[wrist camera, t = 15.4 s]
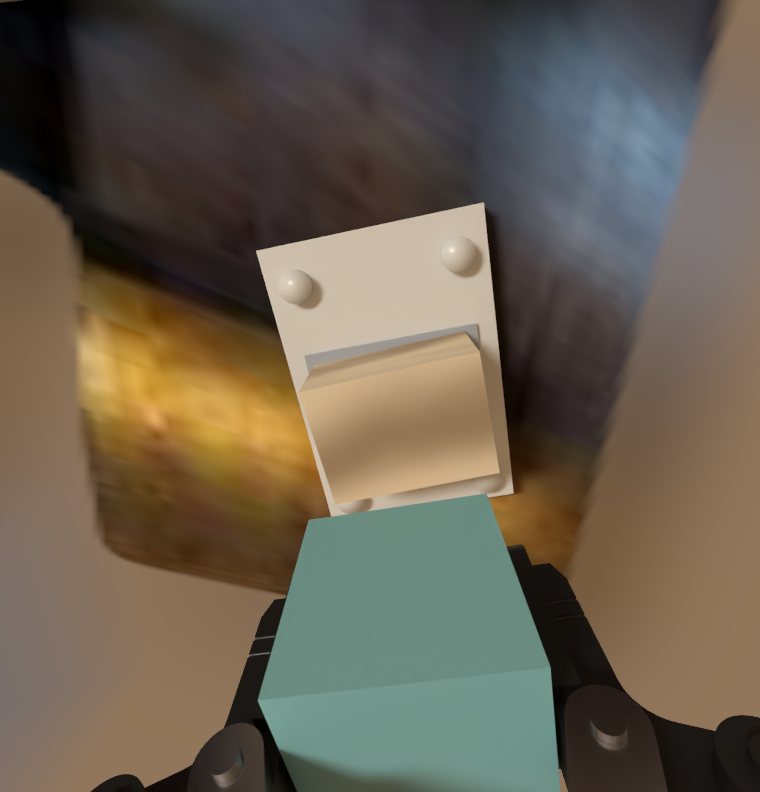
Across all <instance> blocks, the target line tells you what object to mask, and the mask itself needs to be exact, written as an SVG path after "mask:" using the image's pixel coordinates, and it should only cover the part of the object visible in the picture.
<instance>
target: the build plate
mask: <svg viewBox="0 0 760 792" xmlns="http://www.w3.org/2000/svg"><path fill="white" fill-rule="evenodd" d="M256 252H257V256H258V259H259V263H260V266H261V270H262V273H263V277H264V280H265V284H266V287H267V291H268V294H269V298H270V301H271V305H272V309H273V312H274V316H275V319H276V323H277V326H278V330H279V333H280V337H281V340H282V344H283V347H284V351H285V354H286V358H287V361H288V365H289V368H290V372H291V376H292V379H293V383H294V386H295V390H296V393H297V397H298V400H299V404H300V407H301V411H302V414H303V418H304V421H305V425H306V428H307V432H308V436H309V439H310V443H311V446H312V450H313V453H314V457H315V460H316V464H317V467H318V471H319V474H320V478H321V481H322V485H323V488H324V492H325V495H326V499H327V503H328V506H329V510H330V513H331V517H333V516H339V515H346V514H353V513H359V512H366V511H372V510H379V509H386V508H392V507H399V506H405V505H412V504H419V503H425V502H432V501H439V500H445V499H452V498H458V497H465V496H472V495H478V494H485V493H487V496H488V497H495V496H502V495H508V494H514V492H513V483H512V473H511V463H510V453H509V444H508V434H507V424H506V414H505V405H504V395H503V385H502V375H501V365H500V356H499V346H498V336H497V326H496V317H495V307H494V297H493V287H492V278H491V268H490V258H489V248H488V239H487V229H486V219H485V209H484V203H479V204H475V205H470V206H465V207H460V208H456V209H451V210H446V211H442V212H437V213H432V214H428V215H423V216H418V217H413V218H409V219H404V220H399V221H395V222H390V223H385V224H381V225H376V226H371V227H367V228H362V229H357V230H352V231H348V232H343V233H338V234H334V235H329V236H324V237H320V238H315V239H310V240H306V241H301V242H296V243H291V244H287V245H282V246H277V247H273V248H268V249H263V250H259V251H256ZM463 331H465V332H466V334H467V335H468V337H469V338H470V339H471V341H472V342H473V343H474V345H475V346H476V347H477V349H478V350H479V351H480V357H481V363H482V369H483V375H484V381H485V387H486V393H487V399H488V405H489V411H490V417H491V423H492V429H493V435H494V441H495V447H496V453H497V459H498V465H499V471H500V473H497V474H492V475H486V476H481V477H476V478H471V479H466V480H460V481H455V482H450V483H445V484H440V485H435V486H429V487H424V488H419V489H414V490H409V491H403V492H398V493H393V494H388V495H383V496H377V497H372V498H367V499H362V500H357V501H352V502H346V503H341V504H336V505H335V502H334V499H333V496H332V493H331V490H330V487H329V484H328V481H327V478H326V474H325V471H324V468H323V465H322V462H321V459H320V456H319V453H318V450H317V447H316V444H315V441H314V438H313V435H312V432H311V429H310V426H309V423H308V420H307V417H306V414H305V411H304V408H303V405H302V402H301V399H300V396H299V393H298V392H299V390H300V389H301V387H302V385H303V383H304V382H305V380H306V378H307V376H308V375H309V373H310V371H311V370H312V368H313V366H315V365H319V364H323V363H328V362H332V361H336V360H341V359H345V358H350V357H354V356H358V355H363V354H367V353H371V352H376V351H380V350H384V349H389V348H393V347H397V346H402V345H406V344H410V343H415V342H419V341H423V340H428V339H432V338H436V337H441V336H445V335H450V334H454V333H458V332H463Z"/></svg>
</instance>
